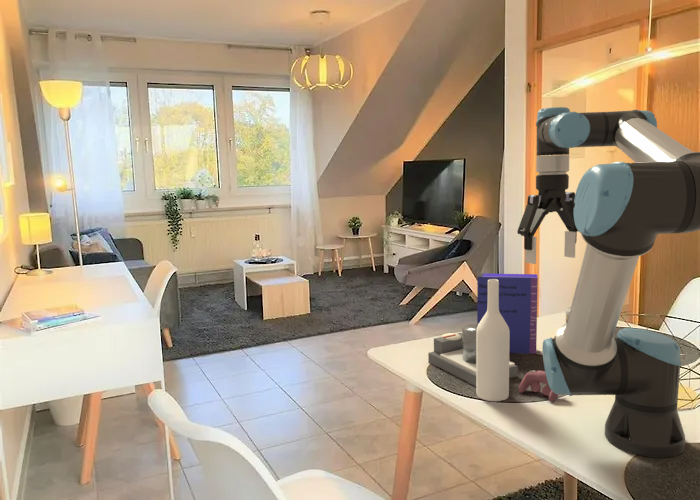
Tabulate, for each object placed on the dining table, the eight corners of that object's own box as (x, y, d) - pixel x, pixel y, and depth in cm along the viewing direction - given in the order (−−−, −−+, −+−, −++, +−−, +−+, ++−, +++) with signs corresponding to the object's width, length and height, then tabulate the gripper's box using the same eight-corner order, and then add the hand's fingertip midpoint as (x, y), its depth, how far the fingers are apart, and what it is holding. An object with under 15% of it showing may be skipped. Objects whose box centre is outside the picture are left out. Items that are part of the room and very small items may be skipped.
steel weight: (491, 364, 157) (490, 333, 156) (461, 363, 159) (460, 331, 158) (492, 354, 165) (492, 324, 163) (463, 353, 167) (463, 323, 165)
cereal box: (535, 349, 179) (536, 273, 175) (536, 354, 175) (537, 277, 171) (477, 346, 184) (477, 272, 180) (477, 351, 179) (477, 276, 175)
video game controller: (559, 405, 144) (566, 377, 145) (551, 402, 141) (558, 374, 142) (524, 394, 151) (530, 368, 152) (515, 391, 148) (522, 364, 149)
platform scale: (517, 376, 158) (517, 349, 157) (477, 387, 152) (477, 359, 151) (464, 352, 178) (464, 328, 177) (426, 361, 172) (426, 336, 171)
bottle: (488, 404, 142) (489, 285, 137) (470, 392, 149) (469, 278, 144) (515, 398, 145) (517, 281, 140) (496, 386, 152) (496, 275, 147)
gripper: (575, 171, 149) (573, 252, 152) (502, 175, 137) (502, 263, 140) (600, 171, 142) (597, 256, 145) (526, 175, 130) (525, 268, 134)
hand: (550, 260), depth 143 cm, fingers open, 13 cm apart
